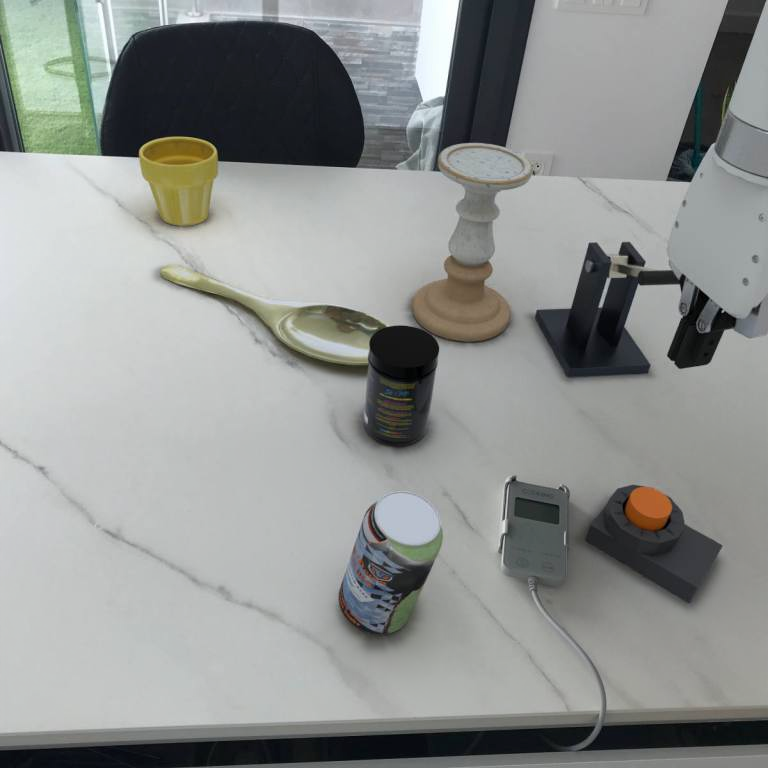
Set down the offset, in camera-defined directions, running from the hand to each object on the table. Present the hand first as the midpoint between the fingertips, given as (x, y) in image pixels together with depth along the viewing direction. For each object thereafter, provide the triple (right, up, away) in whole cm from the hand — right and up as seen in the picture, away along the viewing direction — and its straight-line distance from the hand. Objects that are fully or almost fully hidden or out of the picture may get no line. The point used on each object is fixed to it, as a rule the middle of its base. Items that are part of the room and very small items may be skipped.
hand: (687, 360), depth 64 cm
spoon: (-38, +6, +30) cm, 49 cm away
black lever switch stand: (0, +3, +31) cm, 31 cm away
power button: (-2, -14, +5) cm, 14 cm away
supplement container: (-24, -6, +17) cm, 30 cm away
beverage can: (-25, -20, 0) cm, 32 cm away
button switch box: (-1, -17, +6) cm, 18 cm away
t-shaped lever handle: (+2, +9, +19) cm, 21 cm away
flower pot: (-54, +22, +48) cm, 75 cm away
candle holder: (-15, +7, +34) cm, 38 cm away
